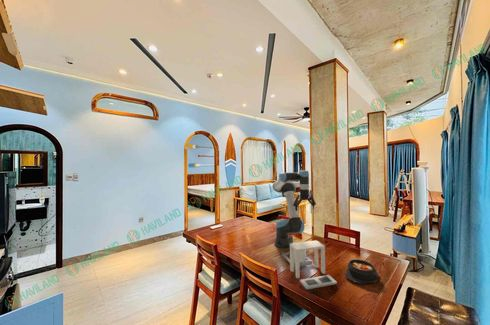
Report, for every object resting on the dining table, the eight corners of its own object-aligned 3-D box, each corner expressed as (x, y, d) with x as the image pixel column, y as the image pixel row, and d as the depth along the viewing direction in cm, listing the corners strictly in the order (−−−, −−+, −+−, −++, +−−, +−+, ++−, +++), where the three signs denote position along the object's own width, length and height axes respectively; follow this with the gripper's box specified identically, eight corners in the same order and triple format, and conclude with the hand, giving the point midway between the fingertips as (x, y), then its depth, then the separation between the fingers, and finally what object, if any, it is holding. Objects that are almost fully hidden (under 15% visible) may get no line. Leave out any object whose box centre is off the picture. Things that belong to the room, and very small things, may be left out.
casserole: (366, 291, 118) (366, 277, 118) (337, 276, 134) (337, 264, 134) (385, 277, 131) (385, 265, 131) (357, 265, 147) (357, 254, 147)
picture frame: (281, 254, 164) (281, 236, 164) (298, 252, 168) (298, 234, 168) (293, 267, 144) (292, 247, 144) (312, 264, 148) (312, 244, 148)
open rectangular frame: (290, 270, 142) (289, 243, 142) (316, 266, 147) (316, 240, 147) (306, 289, 121) (306, 258, 121) (337, 283, 126) (336, 253, 126)
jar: (308, 263, 151) (308, 244, 151) (302, 269, 144) (302, 248, 143) (295, 259, 158) (295, 240, 158) (289, 264, 151) (289, 244, 150)
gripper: (292, 190, 158) (293, 216, 158) (320, 188, 164) (320, 213, 164) (288, 189, 165) (289, 213, 165) (314, 187, 171) (315, 211, 171)
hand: (304, 214), depth 165 cm, fingers open, 13 cm apart
